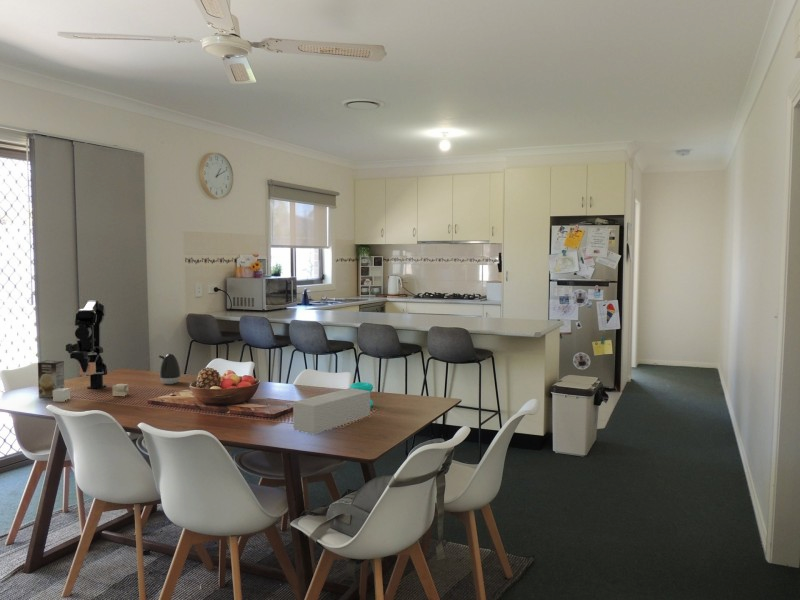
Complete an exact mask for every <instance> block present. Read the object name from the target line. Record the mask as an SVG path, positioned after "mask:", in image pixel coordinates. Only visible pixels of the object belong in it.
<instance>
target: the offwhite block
mask: <svg viewBox="0 0 800 600" xmlns="http://www.w3.org/2000/svg"><path fill="white" fill-rule="evenodd" d="M67 399H69V400H71V389H70V387H66V388H65V387H64V388H58V389H55V390H53V398H52V401H53V402H66V401H68V400H67ZM65 400H66V401H65Z"/></svg>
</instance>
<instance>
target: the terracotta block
mask: <svg viewBox="0 0 800 600" xmlns="http://www.w3.org/2000/svg"><path fill="white" fill-rule="evenodd" d="M78 371H79V373H78V374H79V376H86V375H92V374H95V373H96V362H89V363H88V367H87V371H86V372H83V370H82V368H81V365H80V363H78Z"/></svg>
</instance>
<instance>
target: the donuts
mask: <svg viewBox="0 0 800 600" xmlns="http://www.w3.org/2000/svg"><path fill="white" fill-rule="evenodd" d="M349 388H353V389H359V390H365V391H370V393H371V392H372V391H373V389H374V385H373V384H372V383H370V382H363V381H362V382H361V381H360V382H354V383H351V384H350V385H349ZM372 405H374V401H373V400H372V399H371V398H370V406H372ZM372 407H373V406H372Z"/></svg>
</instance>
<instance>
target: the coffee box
mask: <svg viewBox="0 0 800 600" xmlns="http://www.w3.org/2000/svg"><path fill="white" fill-rule="evenodd" d="M64 361H65V360H64ZM64 361H63V360H50V359H49V360H48V359H47V360H42V361H40V362H37V377H38V378H37V381H38V385H37V387H38V398H51V397H53V390H55V389H58V388H65V362H64Z"/></svg>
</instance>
